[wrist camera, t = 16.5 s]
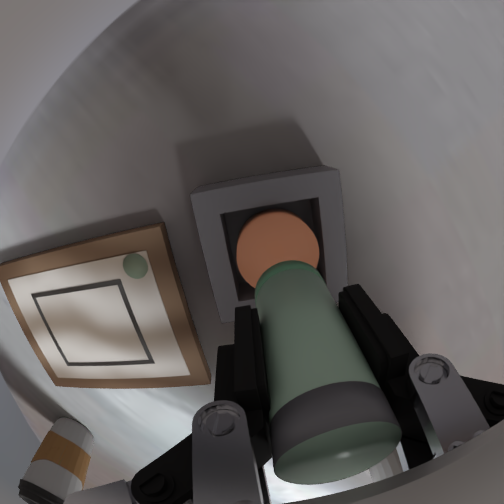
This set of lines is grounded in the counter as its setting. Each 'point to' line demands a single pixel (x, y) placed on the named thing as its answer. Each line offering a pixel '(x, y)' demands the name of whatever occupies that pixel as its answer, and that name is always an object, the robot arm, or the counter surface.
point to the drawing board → (108, 312)
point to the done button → (274, 243)
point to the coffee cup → (58, 464)
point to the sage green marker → (318, 382)
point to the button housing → (262, 198)
